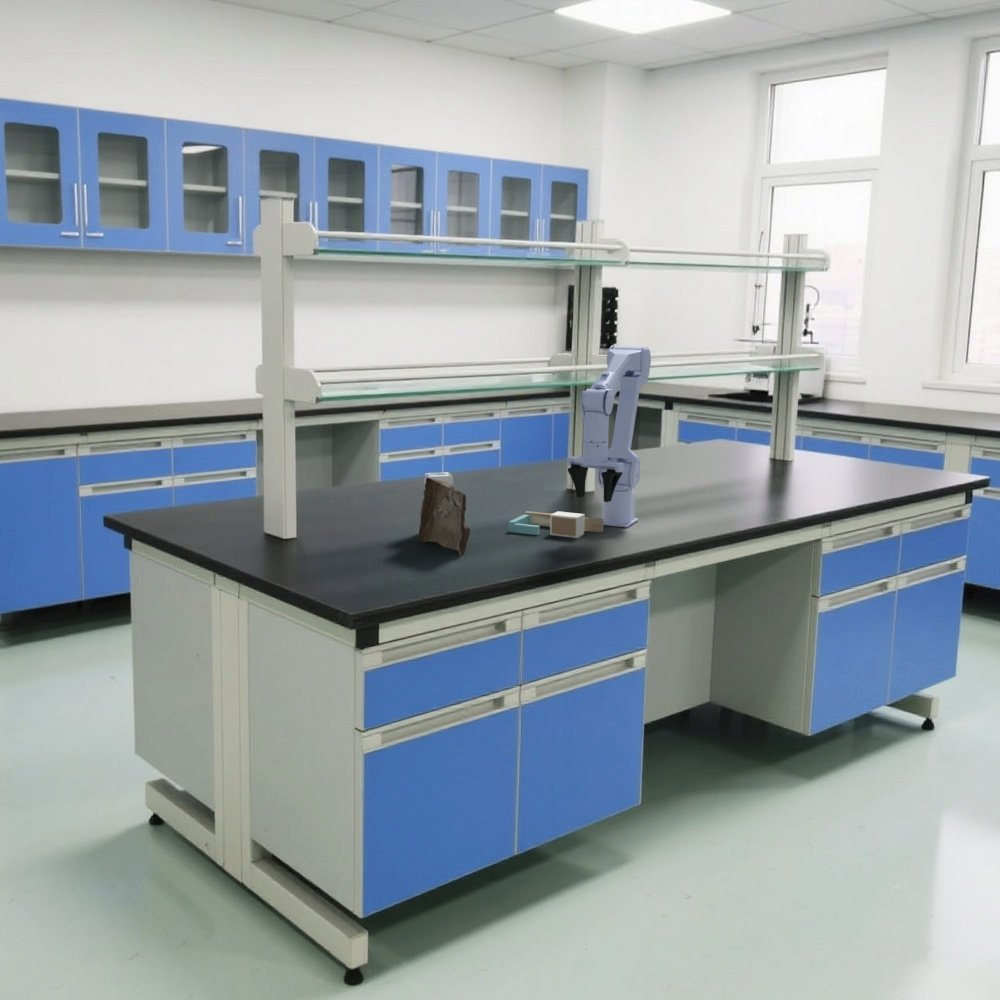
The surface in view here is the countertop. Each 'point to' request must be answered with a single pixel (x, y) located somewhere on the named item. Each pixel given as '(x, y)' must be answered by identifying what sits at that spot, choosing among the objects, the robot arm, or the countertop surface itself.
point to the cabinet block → (567, 524)
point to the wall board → (544, 520)
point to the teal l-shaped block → (523, 526)
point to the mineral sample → (444, 516)
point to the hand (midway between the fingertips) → (594, 499)
